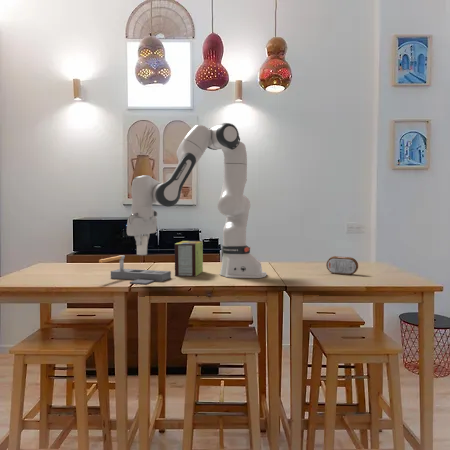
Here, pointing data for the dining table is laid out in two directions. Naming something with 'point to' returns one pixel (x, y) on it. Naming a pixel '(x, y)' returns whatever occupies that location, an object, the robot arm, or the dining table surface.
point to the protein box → (188, 258)
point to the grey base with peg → (139, 274)
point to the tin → (342, 265)
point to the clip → (111, 259)
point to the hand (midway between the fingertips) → (142, 244)
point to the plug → (142, 246)
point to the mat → (142, 281)
